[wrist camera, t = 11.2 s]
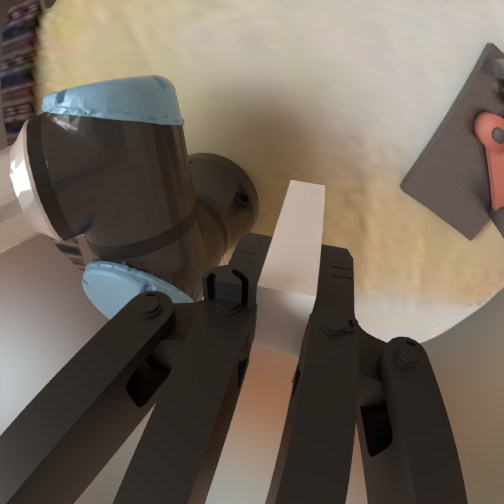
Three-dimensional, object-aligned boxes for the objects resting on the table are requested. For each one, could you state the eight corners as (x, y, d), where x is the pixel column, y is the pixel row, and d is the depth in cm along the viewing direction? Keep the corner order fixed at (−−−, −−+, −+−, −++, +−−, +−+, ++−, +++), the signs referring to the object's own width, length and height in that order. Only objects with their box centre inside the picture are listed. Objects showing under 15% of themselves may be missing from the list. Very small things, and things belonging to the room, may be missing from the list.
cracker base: (467, 234, 36) (479, 257, 32) (399, 185, 36) (407, 205, 31) (555, 106, 20) (577, 117, 16) (491, 35, 19) (512, 35, 15)
